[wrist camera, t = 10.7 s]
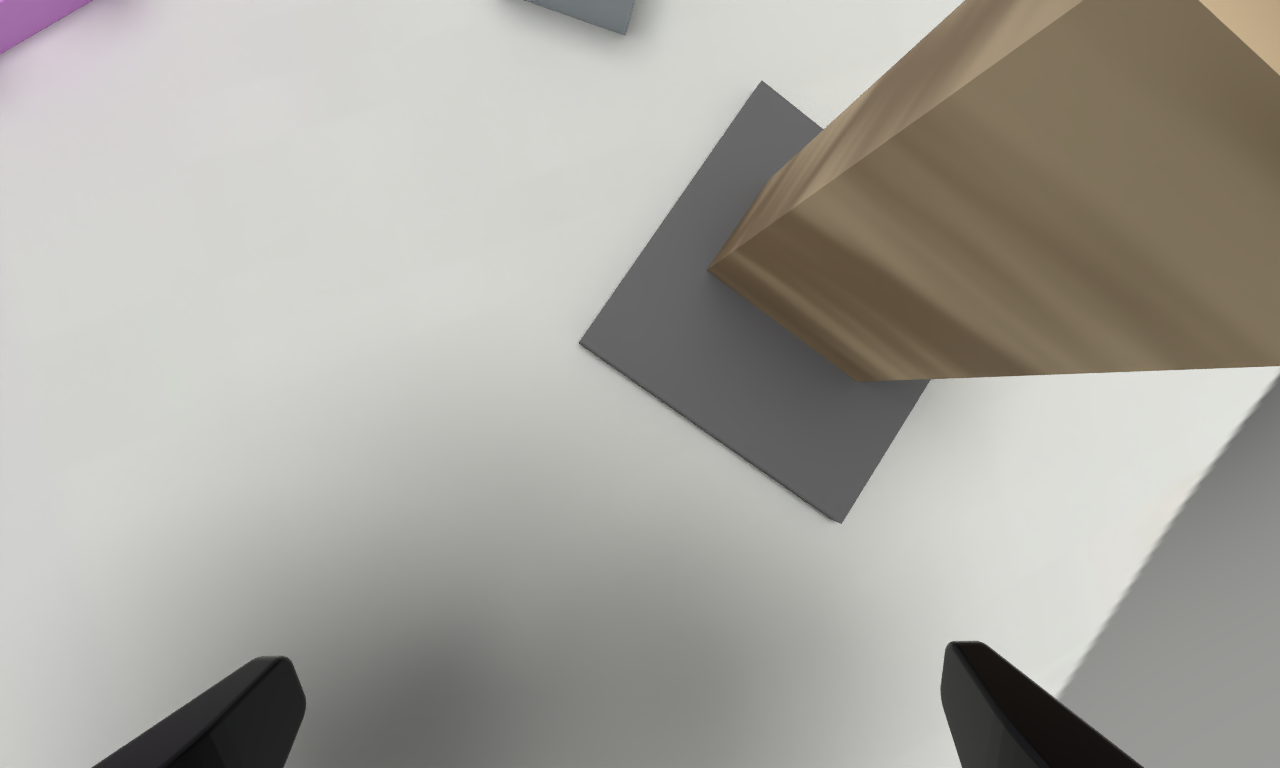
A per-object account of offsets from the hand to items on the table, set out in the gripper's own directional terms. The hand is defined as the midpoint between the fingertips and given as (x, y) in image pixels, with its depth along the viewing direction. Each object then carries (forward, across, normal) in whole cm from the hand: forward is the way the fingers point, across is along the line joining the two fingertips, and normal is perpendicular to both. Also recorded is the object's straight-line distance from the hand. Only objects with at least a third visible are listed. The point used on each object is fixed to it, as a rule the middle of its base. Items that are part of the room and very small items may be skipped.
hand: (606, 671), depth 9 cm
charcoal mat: (+14, -5, -1) cm, 14 cm away
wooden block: (+13, -5, -2) cm, 15 cm away
